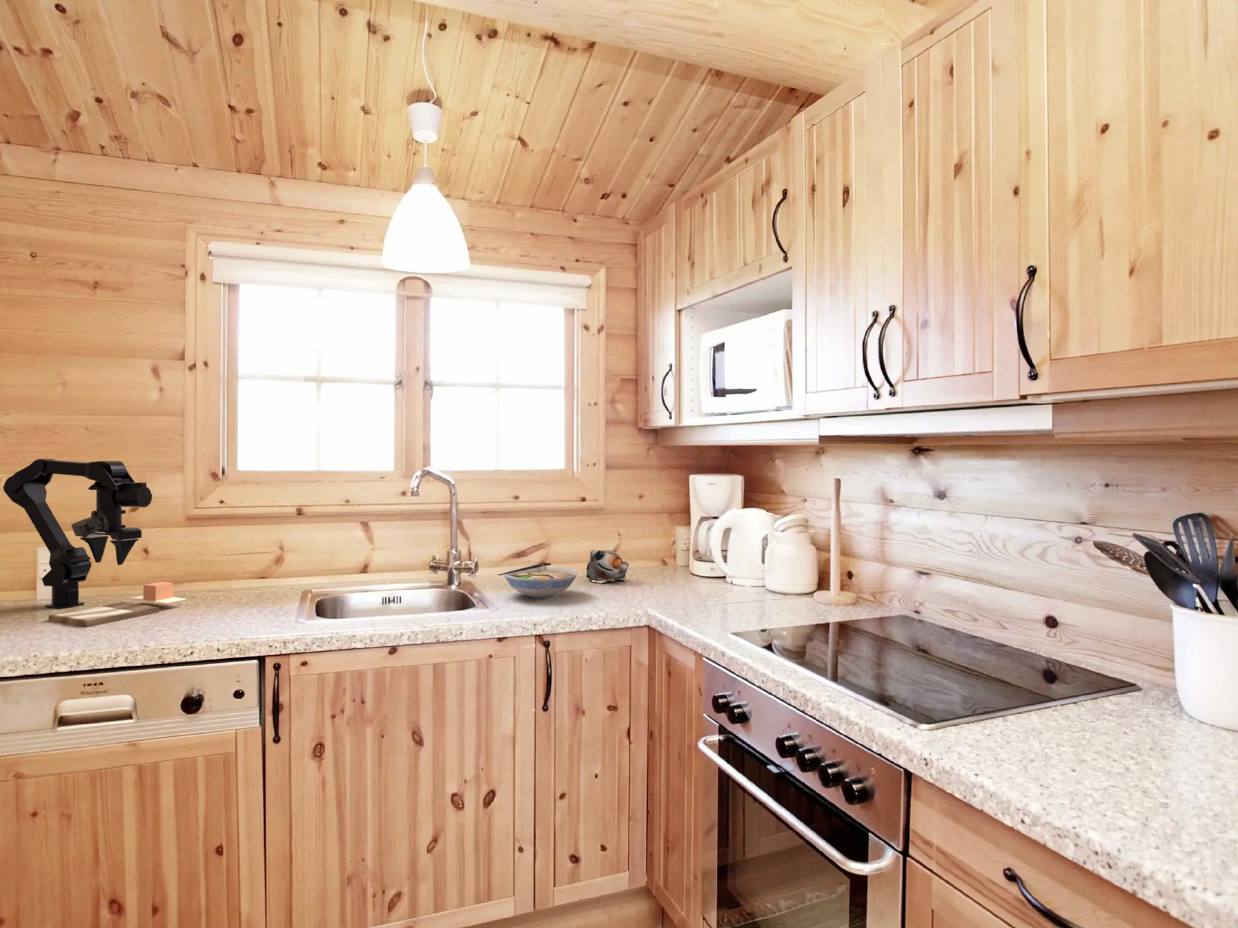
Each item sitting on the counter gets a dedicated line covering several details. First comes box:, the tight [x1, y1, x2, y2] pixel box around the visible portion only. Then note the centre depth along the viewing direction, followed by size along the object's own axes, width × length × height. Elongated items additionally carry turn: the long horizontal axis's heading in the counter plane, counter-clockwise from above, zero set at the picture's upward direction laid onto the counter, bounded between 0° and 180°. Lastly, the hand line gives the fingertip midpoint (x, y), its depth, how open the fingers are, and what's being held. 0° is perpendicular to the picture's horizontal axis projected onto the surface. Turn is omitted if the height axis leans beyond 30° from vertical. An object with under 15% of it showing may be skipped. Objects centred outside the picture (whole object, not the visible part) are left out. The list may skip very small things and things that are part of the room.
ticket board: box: [48, 601, 160, 628], centre depth 184 cm, size 15×18×2 cm
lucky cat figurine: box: [585, 549, 629, 581], centre depth 243 cm, size 15×12×14 cm
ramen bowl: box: [497, 562, 578, 599], centre depth 218 cm, size 25×23×8 cm
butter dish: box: [130, 581, 187, 604], centre depth 196 cm, size 14×6×4 cm, turn 68°
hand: (108, 563), depth 194 cm, fingers open, 9 cm apart
